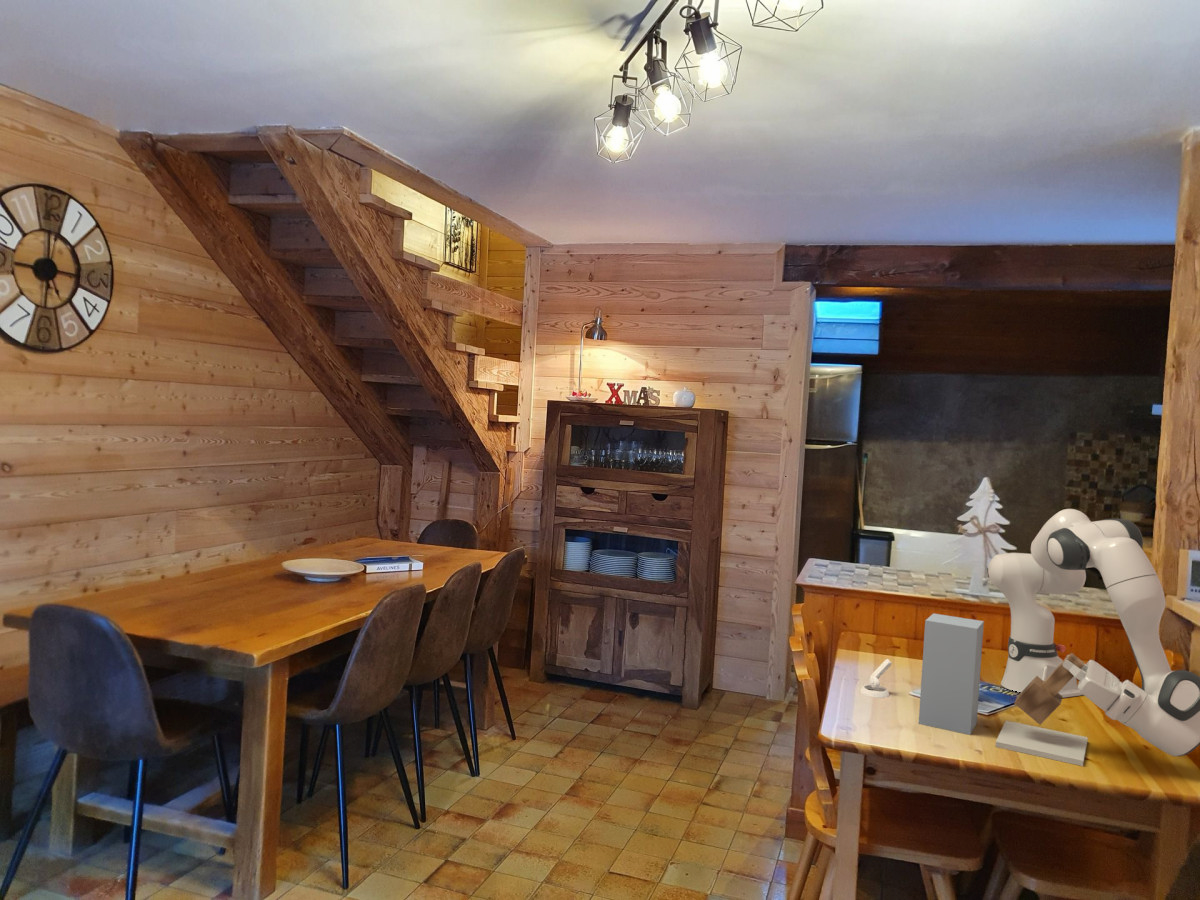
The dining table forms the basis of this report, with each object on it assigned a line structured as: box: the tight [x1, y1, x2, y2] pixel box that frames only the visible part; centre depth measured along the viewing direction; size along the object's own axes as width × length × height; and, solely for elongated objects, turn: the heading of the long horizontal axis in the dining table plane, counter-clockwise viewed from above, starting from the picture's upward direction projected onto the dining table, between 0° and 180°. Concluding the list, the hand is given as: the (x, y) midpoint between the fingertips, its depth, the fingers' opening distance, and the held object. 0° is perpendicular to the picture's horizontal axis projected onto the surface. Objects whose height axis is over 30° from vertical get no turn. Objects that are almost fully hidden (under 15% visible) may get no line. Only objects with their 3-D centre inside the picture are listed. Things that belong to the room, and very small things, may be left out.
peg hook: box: [1013, 652, 1085, 726], centre depth 207 cm, size 17×7×7 cm
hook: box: [860, 658, 893, 699], centre depth 240 cm, size 8×12×7 cm
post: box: [918, 612, 985, 736], centre depth 219 cm, size 12×10×26 cm
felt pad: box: [995, 720, 1089, 767], centre depth 208 cm, size 18×18×1 cm
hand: (1064, 659), depth 205 cm, fingers closed on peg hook, 3 cm apart
